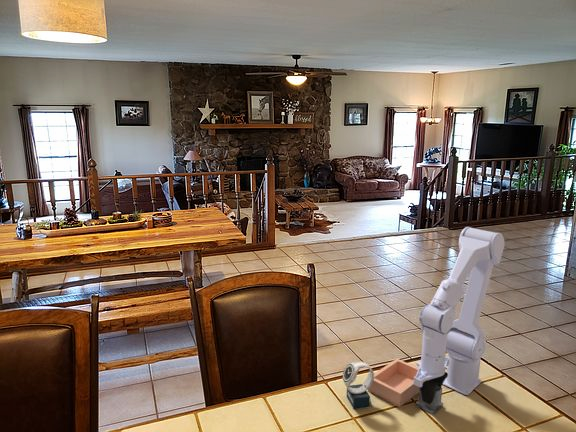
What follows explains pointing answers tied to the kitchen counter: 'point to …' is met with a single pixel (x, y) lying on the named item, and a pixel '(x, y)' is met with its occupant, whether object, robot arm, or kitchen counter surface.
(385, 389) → the salmon pink open box
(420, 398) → the grey metal t-piece
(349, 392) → the watch
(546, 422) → the kitchen counter surface
